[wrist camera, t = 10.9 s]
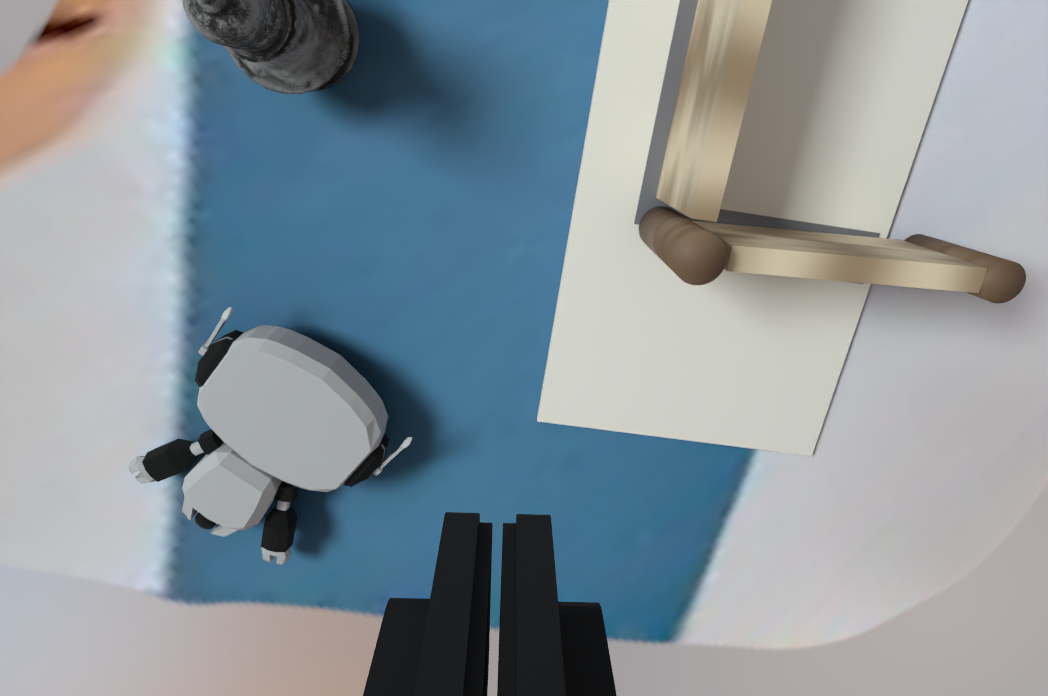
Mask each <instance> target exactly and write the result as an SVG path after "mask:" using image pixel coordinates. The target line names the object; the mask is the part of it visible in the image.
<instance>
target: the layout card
mask: <svg viewBox="0 0 1048 696" xmlns="http://www.w3.org/2000/svg"><path fill="white" fill-rule="evenodd" d="M967 3H968V0H772V3H771V7H770V11H769V15H768V19H767V23H766V27H765V31H764V35H763V39H762V43H761V47H760V51H759V55H758V59H757V63H756V67H755V71H754V75H753V79H752V83H751V87H750V91H749V95H748V99H747V103H746V107H745V111H744V115H743V119H742V123H741V127H740V131H739V135H738V139H737V143H736V147H735V151H734V155H733V159H732V163H731V167H730V171H729V175H728V179H727V183H726V187H725V191H724V195H723V199H722V203H721V207H720V211H719V215H718V219H717V222H712V221H705V220H699V219H692V218H689V217H688V216H686V215H684V214H683V213H681V212H679V211H678V210H676V209H674V208H673V207H671V206H669V205H667V204H666V203H664V202H662V201H661V200H659V199H657V198H656V195H657V190H658V185H659V181H660V176H661V171H662V167H663V162H664V157H665V153H666V148H667V143H668V139H669V134H670V129H671V125H672V120H673V115H674V111H675V106H676V101H677V97H678V92H679V87H680V83H681V78H682V73H683V69H684V64H685V59H686V55H687V50H688V46H689V41H690V36H691V32H692V27H693V22H694V18H695V13H696V8H697V4H698V0H609V3H608V9H607V15H606V21H605V26H604V32H603V38H602V44H601V50H600V55H599V61H598V67H597V73H596V79H595V84H594V90H593V96H592V102H591V108H590V114H589V119H588V125H587V131H586V137H585V143H584V148H583V154H582V160H581V166H580V172H579V177H578V183H577V189H576V195H575V201H574V207H573V212H572V218H571V224H570V230H569V236H568V241H567V247H566V253H565V259H564V265H563V270H562V276H561V282H560V288H559V294H558V300H557V305H556V311H555V317H554V323H553V329H552V334H551V340H550V346H549V352H548V358H547V363H546V369H545V375H544V381H543V387H542V392H541V398H540V404H539V410H538V416H537V421H538V422H546V423H554V424H562V425H570V426H578V427H586V428H594V429H601V430H609V431H617V432H625V433H633V434H641V435H649V436H657V437H665V438H673V439H681V440H689V441H696V442H704V443H712V444H720V445H728V446H736V447H744V448H752V449H760V450H768V451H776V452H783V453H791V454H799V455H807V456H812V454H813V451H814V448H815V445H816V442H817V440H818V437H819V434H820V431H821V428H822V425H823V422H824V419H825V416H826V413H827V410H828V407H829V405H830V402H831V399H832V396H833V393H834V390H835V387H836V384H837V381H838V378H839V375H840V373H841V370H842V367H843V364H844V361H845V358H846V355H847V352H848V349H849V346H850V343H851V340H852V338H853V335H854V332H855V329H856V326H857V323H858V320H859V317H860V314H861V311H862V308H863V306H864V303H865V300H866V297H867V294H868V291H869V288H870V285H871V284H868V283H856V282H845V281H833V280H822V279H810V278H799V277H787V276H776V275H765V274H753V273H742V272H730V271H726V270H725V269H724V270H723V271H722V273H721V274H720V275H719V276H718V277H717V278H716V279H715V280H713V281H712V282H710V283H708V284H704V285H690V284H688V283H685V282H684V281H682V280H681V279H680V278H679V277H678V276H677V275H676V274H675V273H674V272H673V271H672V270H671V269H670V268H669V267H668V266H667V265H666V264H665V263H664V262H663V261H662V260H661V259H660V258H659V257H658V256H657V255H656V254H655V253H654V252H653V251H652V250H651V249H650V248H649V247H648V246H647V245H646V244H645V243H644V242H643V241H642V239H641V238H640V235H639V224H640V221H641V219H642V217H643V216H644V214H645V213H646V212H647V211H649V210H650V209H652V208H654V207H658V206H665V207H669V208H671V209H673V210H674V211H676V212H678V213H679V214H681V215H683V216H684V217H686V218H688V219H689V220H691V221H699V222H710V223H721V224H732V225H743V226H754V227H765V228H776V229H787V230H798V231H809V232H820V233H831V234H842V235H853V236H864V237H875V238H886V239H887V236H888V233H889V230H890V227H891V224H892V221H893V218H894V215H895V212H896V209H897V207H898V204H899V201H900V198H901V195H902V192H903V189H904V186H905V183H906V180H907V177H908V174H909V172H910V169H911V166H912V163H913V160H914V157H915V154H916V151H917V148H918V145H919V142H920V140H921V137H922V134H923V131H924V128H925V125H926V122H927V119H928V116H929V113H930V110H931V108H932V105H933V102H934V99H935V96H936V93H937V90H938V87H939V84H940V81H941V78H942V75H943V73H944V70H945V67H946V64H947V61H948V58H949V55H950V52H951V49H952V46H953V43H954V41H955V38H956V35H957V32H958V29H959V26H960V23H961V20H962V17H963V14H964V11H965V9H966V6H967Z"/></svg>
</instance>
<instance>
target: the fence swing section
mask: <svg viewBox="0 0 1048 696" xmlns="http://www.w3.org/2000/svg"><path fill="white" fill-rule="evenodd" d="M693 222H694V223H696V224H698V225H699V226H701V227H703V228H704V229H706V230H707V231H709V232H711V233H712V234H714V235H716V236H717V237H718V238H720V239H721V240H722V242H723V243H724V245H725V247H726V251H727V262H726V265H725V268H724V269H725V270H726V271H730V272H742V273H753V274H765V275H776V276H787V277H799V278H810V279H822V280H833V281H845V282H856V283H868V284H879V285H890V286H902V287H913V288H925V289H936V290H948V291H959V292H967V293H970V294H972V295H975V296H977V297H980V298H982V299H985V300H987V301H990V302H993V303H1004V302H1007V301H1009V300H1011V299H1013V298H1014V297H1016V296H1017V295H1018V294H1019V293H1020V291H1021V290H1022V288H1023V287H1024V284H1025V280H1026V274H1025V270H1024V269H1023V267H1022V266H1021V265H1020V264H1018V263H1016V262H1013V261H1009V260H1006V259H1003V258H999V257H996V256H992V255H989V254H986V253H982V252H979V251H976V250H972V249H969V248H966V247H962V246H959V245H956V244H952V243H949V242H945V241H942V240H939V239H935V238H932V237H929V236H925V235H921V234H916V235H912V236H910V237H908V238H907V239H905V240H904V241H903V240H897V239H886V238H875V237H864V236H853V235H842V234H831V233H820V232H809V231H798V230H787V229H776V228H765V227H754V226H743V225H732V224H721V223H710V222H699V221H693Z"/></svg>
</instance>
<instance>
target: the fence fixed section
mask: <svg viewBox="0 0 1048 696" xmlns="http://www.w3.org/2000/svg"><path fill="white" fill-rule="evenodd" d="M771 3H772V0H698V4H697V8H696V13H695V18H694V22H693V27H692V32H691V36H690V41H689V46H688V50H687V55H686V59H685V64H684V69H683V73H682V78H681V83H680V87H679V92H678V97H677V101H676V106H675V111H674V115H673V120H672V125H671V129H670V134H669V139H668V143H667V148H666V153H665V157H664V162H663V167H662V171H661V176H660V181H659V185H658V190H657V195H656V198H657V199H659V200H661V201H662V202H664V203H666V204H667V205H669V206H671V207H673V208H674V209H676V210H678V211H679V212H681V213H683V214H684V215H686V216H688V217H689V218H692V219H699V220H705V221H712V222H717V219H718V215H719V211H720V207H721V203H722V199H723V195H724V191H725V187H726V183H727V179H728V175H729V171H730V167H731V163H732V159H733V155H734V151H735V147H736V143H737V139H738V135H739V131H740V127H741V123H742V119H743V115H744V111H745V107H746V103H747V99H748V95H749V91H750V87H751V83H752V79H753V75H754V71H755V67H756V63H757V59H758V55H759V51H760V47H761V43H762V39H763V35H764V31H765V27H766V23H767V19H768V15H769V11H770V7H771ZM639 235H640V238H641V239H642V241H643V242H644V243H645V244H646V245H647V246H648V247H649V248H650V249H651V250H652V251H653V252H654V253H655V254H656V255H657V256H658V257H659V258H660V259H661V260H662V261H663V262H664V263H665V264H666V265H667V266H668V267H669V268H670V269H671V270H672V271H673V272H674V273H675V274H676V275H677V276H678V277H679V278H680V279H681V280H682V281H684V282H685V283H688V284H690V285H704V284H708V283H710V282H712V281H713V280H715V279H716V278H717V277H718V276H719V275H720V274H721V273H722V271H723V270H724V268H725V265H726V262H727V251H726V247H725V245H724V243H723V242H722V240H721V239H720V238H718V237H717V236H716V235H714V234H712V233H711V232H709V231H707V230H706V229H704V228H703V227H701V226H699V225H698V224H696V223H694V222H693V221H691V220H689V219H688V218H686V217H684V216H683V215H681V214H679V213H678V212H676V211H674V210H673V209H671V208H669V207H665V206H658V207H654V208H652V209H650V210H649V211H647V212H646V213H645V214H644V216H643V217H642V219H641V221H640V224H639Z"/></svg>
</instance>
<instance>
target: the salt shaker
mask: <svg viewBox="0 0 1048 696" xmlns="http://www.w3.org/2000/svg"><path fill="white" fill-rule="evenodd" d="M183 6H184V9H185V12H186V14H187V17H188V19H189V20H190V22H191V23H192V25H193V26H194V28H195V29H197V30H198V31H199V32H200V33H201V34H202V35H203V36H204V37H205V38H207V39H209V40H210V41H212V42H214V43H216V44H220V45H223V46H224V47H225V48H226V49H227V50H228V52H229V54H230V55H231V57H232V58H233V59H234V61H235V62H236V64H237V65H238V67H239V68H240V69H241V70H242V71H243V72H244V73H245V74H246V75H247V76H248V77H249V78H250V79H251V80H253V81H254V82H256V83H258V84H260V85H261V86H263V87H265V88H266V89H269V90H272V91H276V92H279V93H283V94H302V93H305V92H309V91H312V90H320V89H323V88H327V87H330V86H333V85H334V84H336V83H337V82H339V81H340V80H342V79H343V78H344V77H345V76H346V75H347V73H348V72H349V71H350V70H351V69H352V66H353V64H354V62H355V60H356V58H357V54H358V48H359V30H358V25H357V22H356V18H355V15H354V12H353V11H352V9H351V7H350V6H349V4H348V2H347V1H346V0H183Z"/></svg>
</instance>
